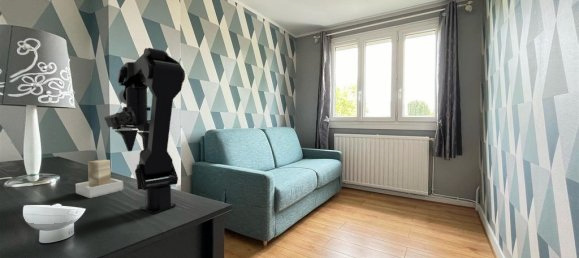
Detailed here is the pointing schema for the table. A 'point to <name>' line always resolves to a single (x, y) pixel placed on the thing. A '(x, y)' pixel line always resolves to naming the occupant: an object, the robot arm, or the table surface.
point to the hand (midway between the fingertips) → (137, 152)
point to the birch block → (99, 173)
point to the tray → (98, 188)
